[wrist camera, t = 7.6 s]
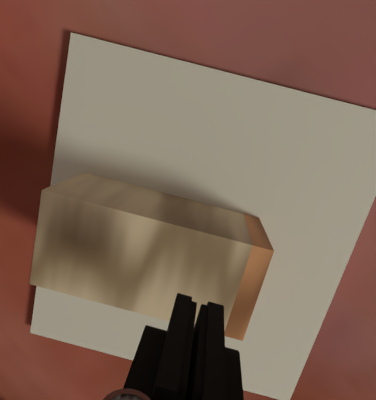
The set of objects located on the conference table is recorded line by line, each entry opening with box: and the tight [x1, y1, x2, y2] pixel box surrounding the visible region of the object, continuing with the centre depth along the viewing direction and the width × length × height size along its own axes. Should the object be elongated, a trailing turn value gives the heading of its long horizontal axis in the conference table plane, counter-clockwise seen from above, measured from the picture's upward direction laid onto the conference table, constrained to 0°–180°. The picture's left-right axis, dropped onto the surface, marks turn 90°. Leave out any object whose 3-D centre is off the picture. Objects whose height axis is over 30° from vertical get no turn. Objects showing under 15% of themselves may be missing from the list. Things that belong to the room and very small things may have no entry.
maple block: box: [30, 172, 274, 341], centre depth 18 cm, size 5×5×11 cm
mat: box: [30, 32, 376, 400], centre depth 20 cm, size 20×19×1 cm
